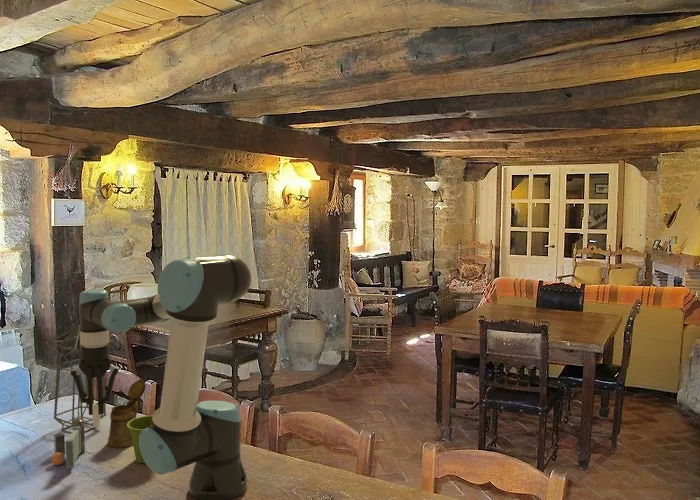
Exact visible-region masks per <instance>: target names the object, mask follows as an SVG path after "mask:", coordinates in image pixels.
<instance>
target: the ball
mask: <svg viewBox="0 0 700 500" xmlns="http://www.w3.org/2000/svg"><path fill="white" fill-rule="evenodd" d="M65 461H66V455H64V454H63V453H61V452H57V453H55V452H54V454H53V455H52V456H51V462H52V464H53V465H55V466H60V465H62V464H63V463H64V462H65Z"/></svg>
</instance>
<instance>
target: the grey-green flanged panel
mask: <svg viewBox="0 0 700 500" xmlns="http://www.w3.org/2000/svg"><path fill="white" fill-rule="evenodd" d="M71 432H72V433H70V435H69V437H68V438H67V439H65V461H66V462H65V463H66V469H74V468H75V463H76V461H77V459H78V456H79V454H80V453H81V433H80V426H74V427H73V428H72V431H71ZM80 455H81V454H80Z"/></svg>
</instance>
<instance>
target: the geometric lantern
mask: <svg viewBox="0 0 700 500" xmlns="http://www.w3.org/2000/svg"><path fill="white" fill-rule="evenodd" d="M67 334H68V335H67ZM65 335H67V336H66V337H65V338H64V339H63V340H59V339H60V338H62V337H64V336H65ZM74 340H75V341H74ZM72 341H74V343H73V344H72ZM79 341H80V324H79V325H76V326H74V327H72V328H71V329H69V330H67V331H65V332H64V333H62V334H60V335H58V336H56V337H54V338H53V339H50V340H49V341H47V342H45V346H46V345H49V346H50V347H51V348H52V349H53V350H54V351H55V353H56V356H57V357H59V358H58V364H57V365H56V366H55V368H56V374H55V391H54V392H55V393H54V410H53V411H54V412H53V419H54V420H55V421H56V422H58V423H59V424H61V432H64V433H69V434H71V433H72V431H69V430H66V429H68V428H72V429H73V420H75V419H79V418H82V419H86V420H84V428H86V427H87V426H88V427H89V426H90V425H91V426H92V427H91V428H89V429H86V430H85V433H86V432H89V431H91V430H93V429H95V428H97V427H93V418H91V417H86V416H84V414H85V412H86V410H87V409H89V406H88V404H87V403H85V404H86V405H85V406H83V403H82V402H81V399H80V395H79V394H78V396H77V397H78V400H77V402H78V403H77V406H76V407H75V393H76V391H75V389H76V382H75V379H74V377H73V376H72V408H70V409H68V410H64V411H62V412H59V413H58V412H57V411H58V402H59V400H58V399H59V389H60V378H61V369H62V370H66V371H69V372H71V371H72V370H73V369H74V367H73V366H72V365H71V363H73V362H77V361H79V362H80V361H81V354H79V353H78V351H79V349H77V348H78V343H79ZM113 341H114V340H113V339H112V338H110V337H109V343H107V344H108V345H109V346H110V344H112V343H113ZM65 342H66V343H65ZM58 343H59V344H58ZM68 344H69V347H67V345H68ZM54 346H55V347H54ZM81 346H82V345H81V344H80V343H79V348H80V347H81ZM59 348H60V349H61V351H60V352H59ZM65 350H67V351H69V352H66V354H65V353H64V351H65ZM73 352H75V353H76V354H77V355H78V356H79V357H80V358H78V359H74V360H71V361H69V360H68V358H67V356H69V355H70V354H71V353H73ZM62 357H63V358H64V359H65V360H66V362H64V363H63V362H62ZM61 362H62V363H61ZM66 364H68V366H69V367H70V369H69V368H64V367H62V366H63V365H66ZM81 372H82V370H81ZM80 375H81V376H82V373H81V374H80ZM105 381H106V380H105V376H104V377H103V386H104V396H106V387H105V386H106V385H105ZM85 391H86V395H87V397H88V381H87V376H86V375H85ZM106 407H107V406H106V402H104V412H103V414H101V415H100V420H101V419H103V418H104V417H106V416H107V408H106ZM79 409H80V410H79ZM83 409H84V410H83ZM75 410H77V417H75ZM68 412H71V419H70V420H65V419H61V418H58V417H57V416H61V415H64V414H67V413H68ZM91 421H92V422H91ZM85 424H86V425H85ZM64 426H65V427H64Z"/></svg>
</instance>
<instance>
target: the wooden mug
mask: <svg viewBox="0 0 700 500" xmlns="http://www.w3.org/2000/svg"><path fill="white" fill-rule="evenodd" d="M145 390H146V382H145V381H144V379H143V378H140V379H138V380H135V382H133V383H132V384H131V386H130V387H129V390H128V395H127V397H128V401H127V403H126V404H118V405H115V406H113V407H111V412H110V413H109V414H110V415H109V418H110V426H109V434H108V439H107V445H108V446H109V447H111V448H116V449H117V448H128V447H130V446H133V442H132V436H131V434H130V430H129V428H128V427H127V423H128V422H129V421H130V420H132V419H135V418H137V415H138V410H139V409H138V401H137V400H139V399H140V398H141V397H143V394H144V393H145Z"/></svg>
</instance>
